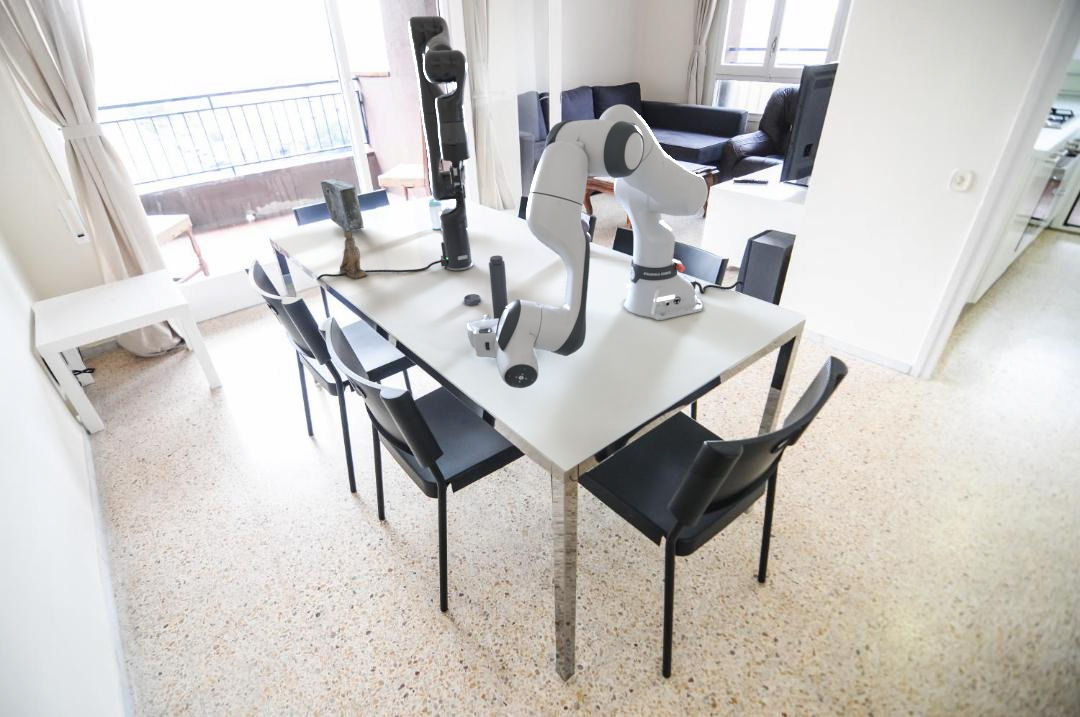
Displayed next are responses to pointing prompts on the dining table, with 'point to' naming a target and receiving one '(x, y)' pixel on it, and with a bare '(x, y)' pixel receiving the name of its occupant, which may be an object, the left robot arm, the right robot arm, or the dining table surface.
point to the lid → (472, 299)
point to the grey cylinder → (498, 285)
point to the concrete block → (342, 204)
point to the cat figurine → (586, 228)
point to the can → (435, 213)
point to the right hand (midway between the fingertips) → (505, 314)
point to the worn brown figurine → (351, 258)
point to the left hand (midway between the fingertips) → (461, 202)
